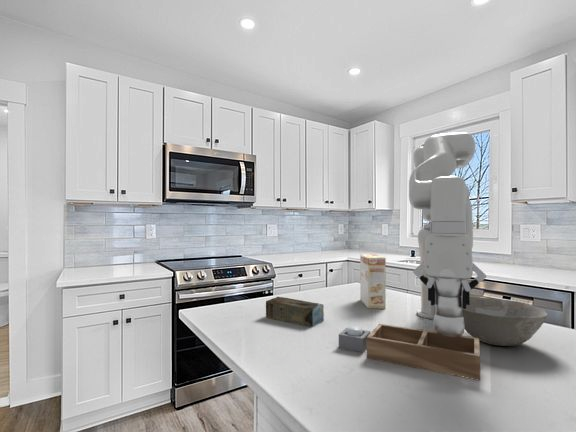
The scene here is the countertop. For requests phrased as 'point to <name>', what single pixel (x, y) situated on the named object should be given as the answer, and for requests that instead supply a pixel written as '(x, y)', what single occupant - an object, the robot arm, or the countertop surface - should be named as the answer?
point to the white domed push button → (354, 331)
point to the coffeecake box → (373, 281)
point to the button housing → (353, 341)
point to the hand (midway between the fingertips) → (448, 305)
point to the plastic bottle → (448, 305)
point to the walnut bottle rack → (425, 350)
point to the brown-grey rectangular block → (295, 311)
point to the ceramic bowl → (502, 320)
